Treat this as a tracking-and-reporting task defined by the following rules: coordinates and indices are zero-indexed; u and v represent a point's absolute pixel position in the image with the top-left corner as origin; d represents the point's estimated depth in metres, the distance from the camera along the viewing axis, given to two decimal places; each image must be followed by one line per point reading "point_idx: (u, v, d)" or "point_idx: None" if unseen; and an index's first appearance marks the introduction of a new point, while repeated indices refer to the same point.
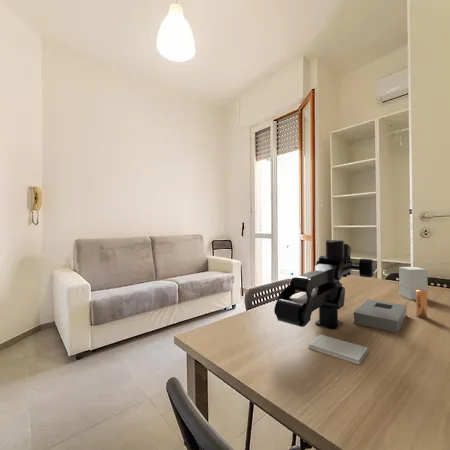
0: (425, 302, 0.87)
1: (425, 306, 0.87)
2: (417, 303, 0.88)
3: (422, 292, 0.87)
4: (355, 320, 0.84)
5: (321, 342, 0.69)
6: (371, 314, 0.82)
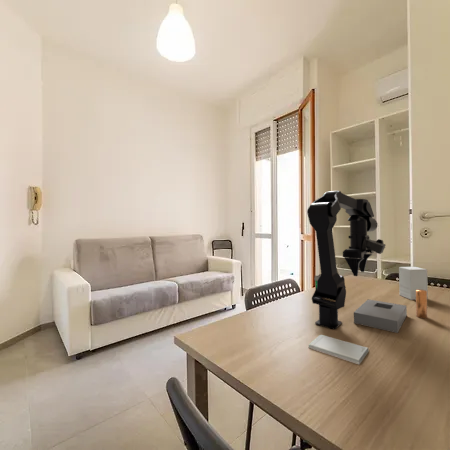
0: (425, 302, 0.87)
1: (425, 306, 0.87)
2: (417, 303, 0.88)
3: (422, 292, 0.87)
4: (355, 320, 0.84)
5: (321, 342, 0.69)
6: (371, 314, 0.82)
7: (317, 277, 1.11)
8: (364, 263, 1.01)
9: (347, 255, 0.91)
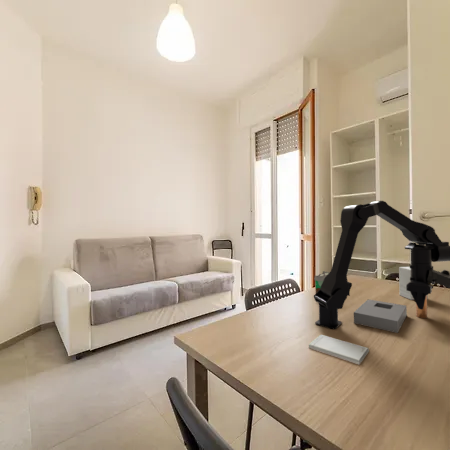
0: (425, 302, 0.87)
1: (425, 306, 0.87)
2: None
3: None
4: (355, 320, 0.84)
5: (321, 342, 0.69)
6: (371, 314, 0.82)
7: (317, 277, 1.11)
8: None
9: (412, 289, 0.82)
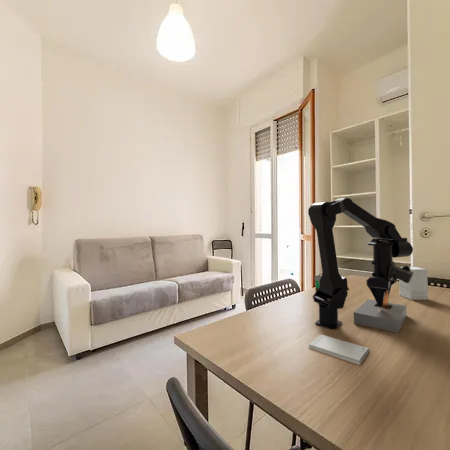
0: (386, 301, 0.88)
1: (386, 305, 0.88)
2: None
3: None
4: (355, 320, 0.84)
5: (321, 342, 0.69)
6: (371, 314, 0.82)
7: (317, 277, 1.11)
8: (388, 290, 0.93)
9: (372, 284, 0.84)
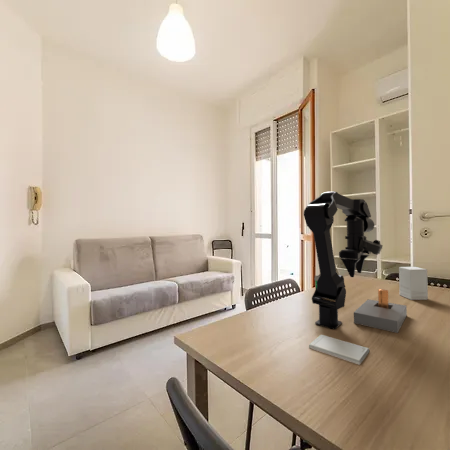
0: (386, 301, 0.88)
1: (386, 305, 0.88)
2: (379, 302, 0.90)
3: (383, 292, 0.88)
4: (355, 320, 0.84)
5: (321, 342, 0.69)
6: (371, 314, 0.82)
7: (317, 277, 1.11)
8: (361, 264, 0.99)
9: (343, 256, 0.90)
